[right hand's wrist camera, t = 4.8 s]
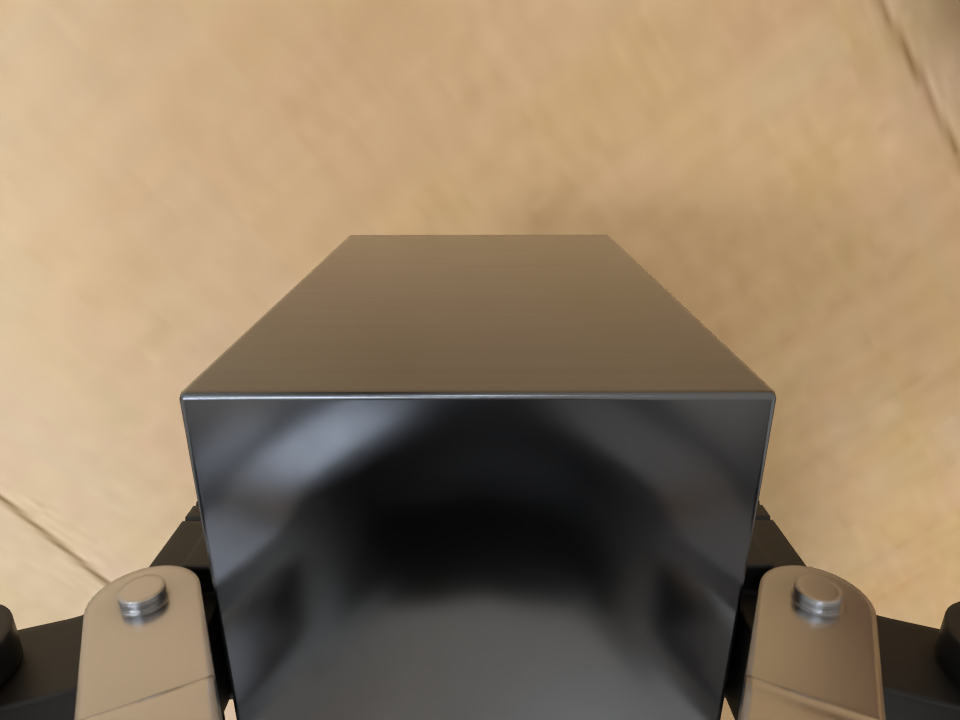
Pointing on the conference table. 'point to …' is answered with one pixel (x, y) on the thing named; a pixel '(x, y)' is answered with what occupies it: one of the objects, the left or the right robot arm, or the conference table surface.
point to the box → (478, 488)
